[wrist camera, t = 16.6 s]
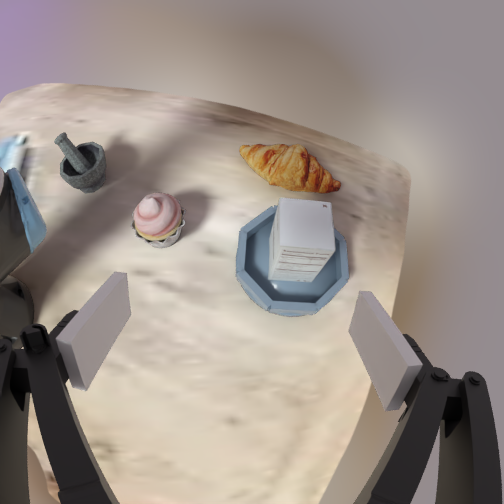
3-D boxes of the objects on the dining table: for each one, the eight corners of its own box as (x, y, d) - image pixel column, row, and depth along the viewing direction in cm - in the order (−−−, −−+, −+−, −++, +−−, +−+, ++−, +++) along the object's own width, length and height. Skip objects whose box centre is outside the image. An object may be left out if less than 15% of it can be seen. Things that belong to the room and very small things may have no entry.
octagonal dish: (231, 312, 46) (231, 307, 43) (240, 212, 53) (240, 201, 50) (343, 318, 46) (351, 313, 43) (338, 222, 54) (344, 212, 51)
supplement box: (268, 239, 50) (278, 194, 39) (311, 242, 51) (333, 200, 39) (266, 281, 47) (278, 245, 36) (312, 284, 48) (337, 250, 36)
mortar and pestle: (121, 174, 56) (105, 132, 45) (91, 207, 52) (67, 168, 41) (90, 156, 58) (72, 117, 47) (61, 186, 54) (38, 149, 43)
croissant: (233, 175, 61) (224, 164, 54) (251, 133, 61) (245, 117, 53) (329, 212, 59) (334, 206, 51) (346, 168, 58) (353, 156, 50)
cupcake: (200, 230, 51) (195, 196, 42) (161, 267, 48) (146, 239, 39) (166, 200, 54) (156, 165, 45) (128, 233, 50) (110, 202, 41)
